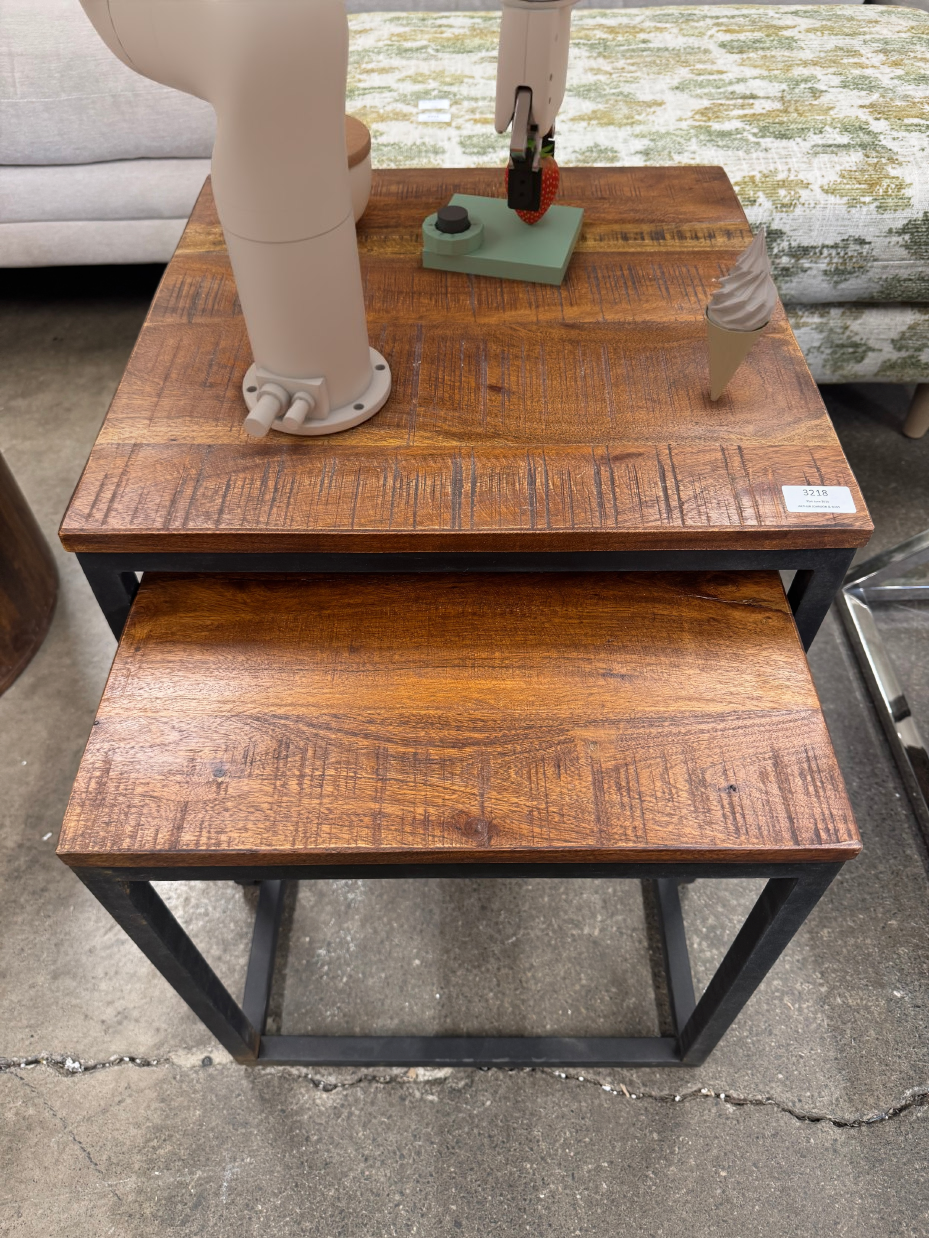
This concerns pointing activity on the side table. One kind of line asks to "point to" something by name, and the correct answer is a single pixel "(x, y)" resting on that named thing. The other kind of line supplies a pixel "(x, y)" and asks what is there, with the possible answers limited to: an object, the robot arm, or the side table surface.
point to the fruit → (548, 185)
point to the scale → (504, 241)
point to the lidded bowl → (358, 164)
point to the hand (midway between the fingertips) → (530, 193)
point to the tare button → (452, 219)
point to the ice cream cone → (739, 313)
